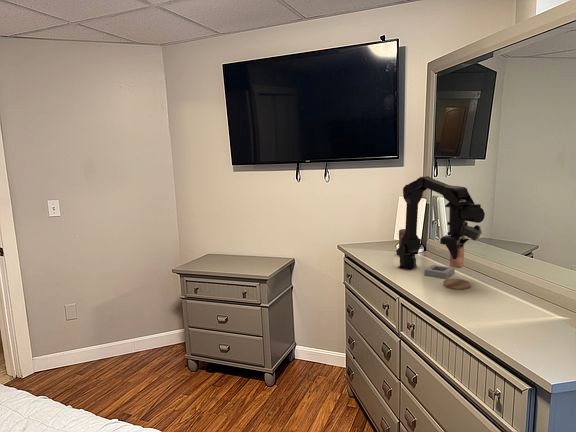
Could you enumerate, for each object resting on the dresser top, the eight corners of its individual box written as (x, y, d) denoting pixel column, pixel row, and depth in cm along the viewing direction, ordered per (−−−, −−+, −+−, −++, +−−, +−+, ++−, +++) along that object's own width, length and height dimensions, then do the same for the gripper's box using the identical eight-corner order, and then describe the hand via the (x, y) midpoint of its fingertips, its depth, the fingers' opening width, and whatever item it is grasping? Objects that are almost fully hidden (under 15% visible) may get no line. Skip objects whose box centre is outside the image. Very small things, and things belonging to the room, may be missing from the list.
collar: (424, 275, 169) (424, 269, 169) (433, 269, 176) (433, 264, 176) (446, 279, 163) (446, 273, 162) (454, 273, 170) (454, 267, 169)
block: (449, 266, 154) (449, 247, 152) (453, 264, 156) (453, 245, 155) (460, 268, 151) (460, 248, 150) (463, 266, 154) (464, 246, 152)
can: (412, 257, 198) (412, 230, 196) (399, 257, 199) (399, 231, 197) (411, 254, 204) (411, 228, 202) (398, 254, 205) (398, 228, 203)
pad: (439, 286, 155) (439, 284, 154) (448, 279, 162) (448, 277, 162) (465, 291, 148) (465, 288, 148) (474, 284, 155) (474, 281, 155)
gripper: (470, 225, 138) (469, 266, 141) (487, 217, 152) (486, 255, 154) (439, 222, 146) (439, 262, 149) (457, 215, 159) (457, 251, 162)
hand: (456, 257), depth 153 cm, fingers closed on block, 4 cm apart
